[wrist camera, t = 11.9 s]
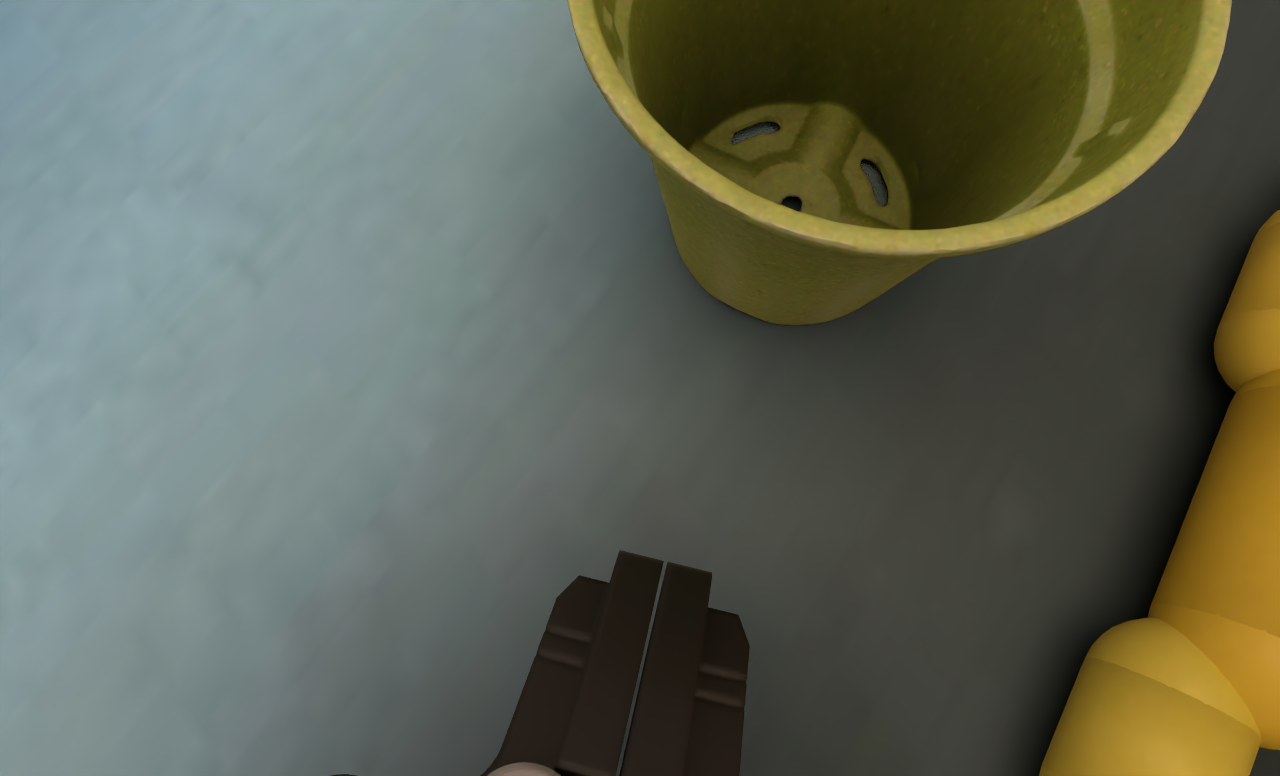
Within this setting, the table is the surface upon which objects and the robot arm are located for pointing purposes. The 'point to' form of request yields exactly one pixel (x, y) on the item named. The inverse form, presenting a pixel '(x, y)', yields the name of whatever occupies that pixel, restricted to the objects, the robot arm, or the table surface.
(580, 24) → the plant pot
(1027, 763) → the table surface
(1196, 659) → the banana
